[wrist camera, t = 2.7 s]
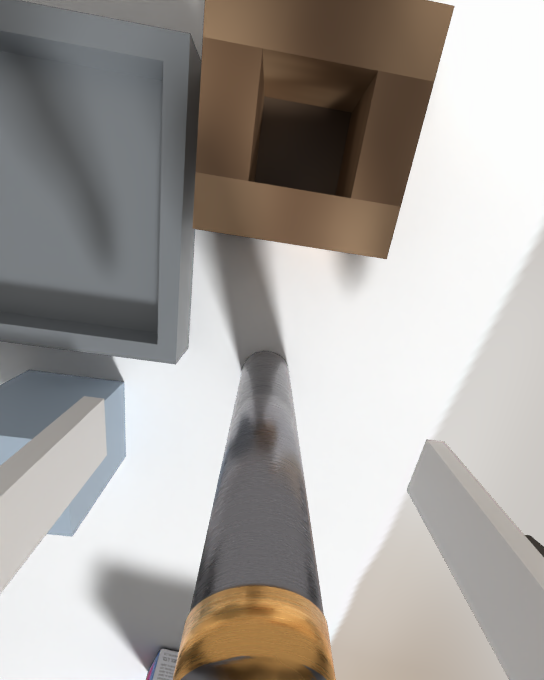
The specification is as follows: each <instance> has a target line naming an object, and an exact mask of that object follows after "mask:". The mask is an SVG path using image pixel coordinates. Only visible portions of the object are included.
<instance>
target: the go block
mask: <svg viewBox="0 0 544 680" xmlns="http://www.w3.org/2000/svg"><path fill="white" fill-rule="evenodd" d="M453 9H454V6H452V5H447V4H442V3H438V2H433V1H428V0H205V9H204V27H203V45H202V63H201V82H200V100H199V118H198V136H197V154H196V173H195V191H194V209H193V227H192V229H199V230H205V231H211V232H217V233H224V234H230V235H236V236H243V237H249V238H256V239H262V240H268V241H275V242H281V243H287V244H294V245H300V246H306V247H313V248H319V249H325V250H332V251H338V252H344V253H351V254H357V255H364V256H370V257H377V258H383V259H387V256H388V252H389V248H390V244H391V241H392V237H393V233H394V229H395V226H396V222H397V218H398V214H399V211H400V207H401V203H402V200H403V196H404V192H405V188H406V185H407V181H408V177H409V173H410V170H411V166H412V162H413V159H414V155H415V151H416V147H417V144H418V140H419V136H420V132H421V129H422V125H423V121H424V118H425V114H426V110H427V106H428V103H429V99H430V95H431V91H432V88H433V84H434V80H435V77H436V73H437V69H438V65H439V62H440V58H441V54H442V50H443V47H444V43H445V39H446V36H447V32H448V28H449V24H450V21H451V17H452V13H453Z"/></svg>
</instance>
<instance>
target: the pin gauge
mask: <svg viewBox="0 0 544 680" xmlns="http://www.w3.org/2000/svg"><path fill="white" fill-rule="evenodd" d="M173 680H336V679H335V672H334V666H333V659H332V652H331V645H330V639H329V632H328V626H327V621H326V619H325V617H324V614H323V607H322V600H321V593H320V586H319V579H318V572H317V565H316V558H315V551H314V544H313V537H312V530H311V523H310V516H309V509H308V502H307V495H306V488H305V481H304V474H303V467H302V460H301V453H300V446H299V439H298V432H297V425H296V418H295V411H294V404H293V397H292V390H291V383H290V376H289V370H288V366H287V363H286V362H285V360H284V359H283V358H282V357H281V356H279V355H278V354H276V353H273V352H269V351H261V352H257V353H255V354H253V355H251V356H250V357H249V358H248V359H247V360H246V361H245V363H244V365H243V369H242V373H241V378H240V383H239V387H238V392H237V396H236V401H235V406H234V410H233V415H232V420H231V424H230V429H229V433H228V438H227V443H226V447H225V452H224V457H223V461H222V466H221V471H220V475H219V480H218V484H217V489H216V494H215V498H214V503H213V508H212V512H211V517H210V522H209V526H208V531H207V535H206V540H205V545H204V549H203V554H202V559H201V563H200V568H199V573H198V577H197V582H196V586H195V591H194V596H193V600H192V605H191V610H190V613H189V615H188V617H187V619H186V622H185V626H184V631H183V635H182V640H181V644H180V649H179V653H178V658H177V662H176V667H175V671H174V676H173Z"/></svg>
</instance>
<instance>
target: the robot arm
mask: <svg viewBox="0 0 544 680" xmlns="http://www.w3.org/2000/svg"><path fill="white" fill-rule="evenodd" d="M106 456H107V447H106V426H105V406H104V398H96V397H88V396H84V397H82V398H81V399H80V400H79V401H78V402H76V403H75V404H74V405H73V406H72V407H70V408H69V409H68V410H67V411H66V412H64V413H63V414H62V415H61V416H60V417H58V418H57V419H56V420H55V421H54V422H52V423H51V424H50V425H49V426H48V427H46V428H45V429H44V430H43V431H42V432H40V433H39V434H38V435H37V436H35V437H34V438H33V439H32V440H31V441H29V442H28V443H27V444H26V445H25V446H23V447H22V448H21V449H20V450H19V451H17V452H16V453H15V454H14V455H13V456H11V457H10V458H9V459H8V460H7V461H5V462H4V463H3V464H2V465H1V466H0V594H1V593H2V591H3V590H4V589H5V587H6V586H7V585H8V583H9V582H10V581H11V580H12V578H13V577H14V576H15V574H16V573H17V572H18V570H19V569H20V568H21V567H22V565H23V564H24V563H25V561H26V560H27V559H28V557H29V556H30V555H31V553H32V552H33V551H34V550H35V548H36V547H37V546H38V544H39V543H40V542H41V540H42V539H43V538H44V537H45V535H46V534H47V533H48V531H49V530H50V529H51V527H52V526H53V525H54V524H55V522H56V521H57V520H58V518H59V517H60V516H61V514H62V513H63V512H64V510H65V509H66V508H67V507H68V505H69V504H70V503H71V501H72V500H73V499H74V497H75V496H76V495H77V494H78V492H79V491H80V490H81V488H82V487H83V486H84V484H85V483H86V482H87V480H88V479H89V478H90V477H91V475H92V474H93V473H94V471H95V470H96V469H97V467H98V466H99V465H100V464H101V462H102V461H103V460H104V458H105V457H106ZM407 492H408V494H409V495H410V497H411V499H412V501H413V503H414V505H415V506H416V508H417V510H418V512H419V514H420V516H421V518H422V519H423V521H424V523H425V525H426V527H427V529H428V530H429V532H430V534H431V536H432V538H433V540H434V542H435V544H436V545H437V547H438V549H439V551H440V553H441V555H442V556H443V558H444V560H445V562H446V564H447V566H448V568H449V570H450V571H451V573H452V575H453V577H454V579H455V581H456V582H457V584H458V586H459V588H460V590H461V592H462V594H463V595H464V597H465V599H466V601H467V603H468V604H469V607H470V608H471V610H472V612H473V614H474V616H475V618H476V619H477V621H478V623H479V625H480V627H481V629H482V631H483V632H484V634H485V636H486V638H487V640H488V642H489V644H490V645H491V647H492V649H493V651H494V653H495V654H496V656H497V658H498V660H499V662H500V664H501V666H502V668H503V669H504V671H505V673H506V675H507V677H508V679H509V680H544V547H543V546H542V545H541V544H540V543H538V542H537V541H536V540H535V539H534V538H532V537H531V536H529V535H524V534H523V533H522V532H521V530H520V529H519V528H518V527H517V526H516V525H515V523H514V522H513V521H512V520H511V519H510V518H509V516H508V515H507V514H506V513H505V512H504V511H503V509H502V508H501V507H500V506H499V505H498V504H497V503H496V501H495V500H494V499H493V498H492V497H491V495H490V494H489V493H488V492H487V491H486V490H485V488H484V487H483V486H482V485H481V484H480V483H479V481H478V480H477V479H476V478H475V477H474V476H473V475H472V473H471V472H470V471H469V470H468V469H467V467H466V466H465V465H464V464H463V463H462V462H461V460H460V459H459V458H458V457H457V456H456V455H455V453H454V452H453V451H452V450H451V449H450V448H449V446H448V445H447V444H446V443H445V442H443V441H436V440H428V439H427V440H426V442H425V445H424V447H423V450H422V452H421V455H420V458H419V460H418V463H417V465H416V468H415V470H414V473H413V475H412V478H411V481H410V483H409V486H408V488H407Z"/></svg>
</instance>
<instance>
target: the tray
mask: <svg viewBox="0 0 544 680" xmlns="http://www.w3.org/2000/svg"><path fill="white" fill-rule="evenodd" d="M200 82H201V60H200V58H199V55H198V52H197V50H196V47H195V45H194V42H193V39H192V37H191V34H190V33H185V32H180V31H174V30H169V29H164V28H159V27H154V26H149V25H143V24H138V23H133V22H128V21H123V20H118V19H112V18H107V17H102V16H97V15H92V14H87V13H81V12H76V11H71V10H66V9H61V8H56V7H50V6H45V5H40V4H35V3H30V2H25V1H19V0H0V341H3V342H10V343H18V344H26V345H33V346H41V347H48V348H56V349H64V350H71V351H79V352H86V353H94V354H101V355H109V356H117V357H124V358H132V359H139V360H147V361H155V362H162V363H170V364H176V363H177V362H178V361H179V359H180V358H181V357H182V355H183V354H184V353H185V352H186V350H187V349H188V343H189V326H190V309H191V291H192V274H193V257H194V239H195V229H192V227H193V209H194V191H195V173H196V154H197V136H198V118H199V100H200Z"/></svg>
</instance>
